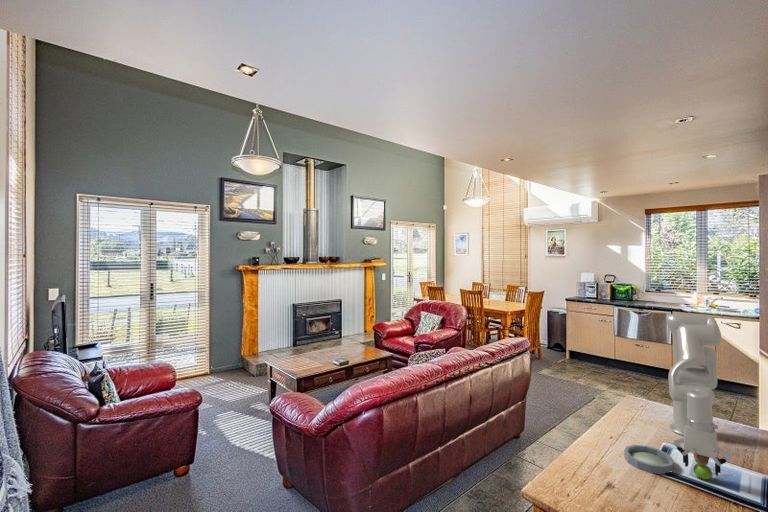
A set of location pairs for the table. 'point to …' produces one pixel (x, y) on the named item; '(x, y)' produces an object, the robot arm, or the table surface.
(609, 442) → the table surface
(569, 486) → the table surface
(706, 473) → the snail figurine
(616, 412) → the table surface
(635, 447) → the ring dish
